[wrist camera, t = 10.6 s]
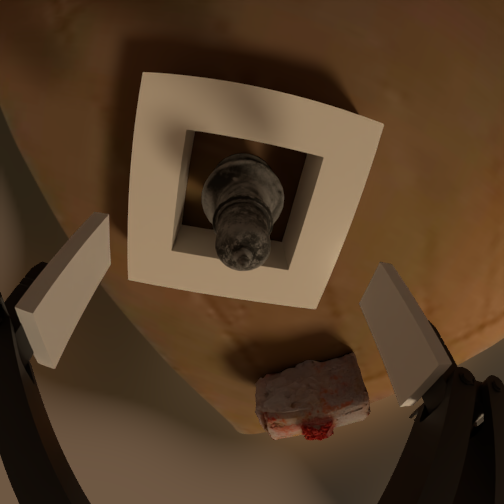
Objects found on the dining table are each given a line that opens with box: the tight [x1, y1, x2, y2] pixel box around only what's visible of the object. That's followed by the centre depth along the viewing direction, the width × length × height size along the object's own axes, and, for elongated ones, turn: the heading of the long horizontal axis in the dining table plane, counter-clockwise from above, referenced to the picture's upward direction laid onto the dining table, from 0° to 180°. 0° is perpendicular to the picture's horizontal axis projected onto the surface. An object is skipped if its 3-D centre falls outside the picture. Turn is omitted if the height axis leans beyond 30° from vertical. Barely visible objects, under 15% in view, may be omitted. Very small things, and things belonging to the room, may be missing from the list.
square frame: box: [128, 72, 384, 309], centre depth 22 cm, size 16×16×4 cm
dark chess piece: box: [202, 153, 284, 271], centre depth 19 cm, size 6×6×12 cm
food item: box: [255, 352, 370, 440], centre depth 33 cm, size 14×8×10 cm, turn 108°
